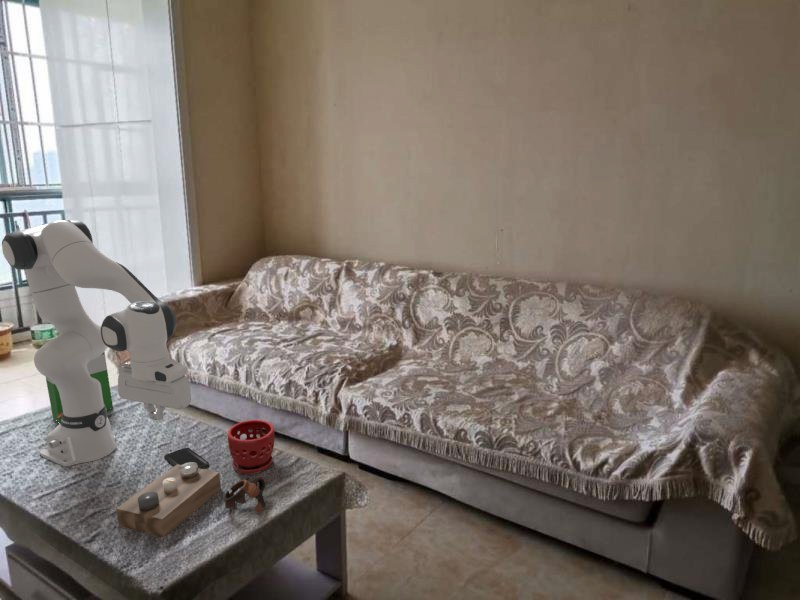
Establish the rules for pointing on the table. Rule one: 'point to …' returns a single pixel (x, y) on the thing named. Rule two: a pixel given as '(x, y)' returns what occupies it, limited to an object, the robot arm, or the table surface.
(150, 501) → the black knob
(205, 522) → the table surface
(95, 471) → the table surface
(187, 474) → the silver knob
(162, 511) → the mount
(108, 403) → the hardback book
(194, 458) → the phone
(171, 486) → the dial
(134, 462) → the table surface
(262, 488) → the brown open round fixture
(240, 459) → the plant pot
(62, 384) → the robot arm
